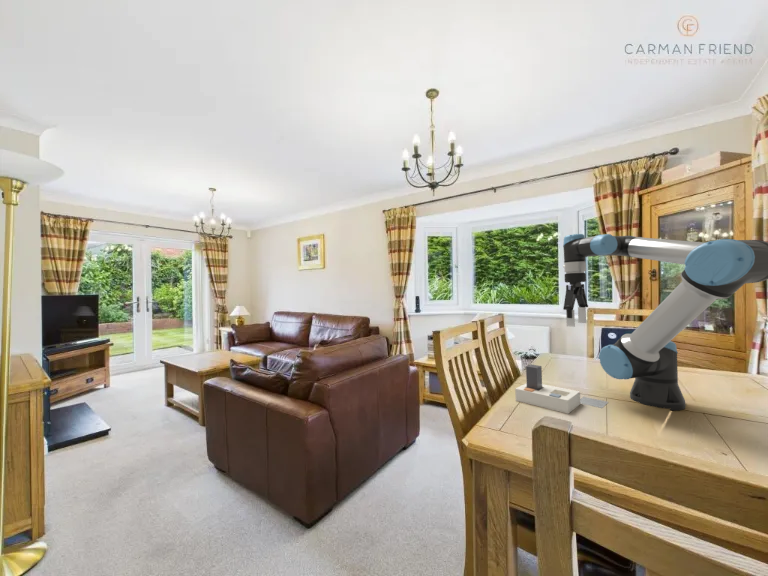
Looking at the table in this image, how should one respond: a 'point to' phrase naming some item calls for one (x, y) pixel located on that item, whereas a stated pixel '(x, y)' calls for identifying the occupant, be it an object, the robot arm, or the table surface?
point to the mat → (593, 402)
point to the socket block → (549, 397)
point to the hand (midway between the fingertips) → (576, 324)
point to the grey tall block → (534, 377)
